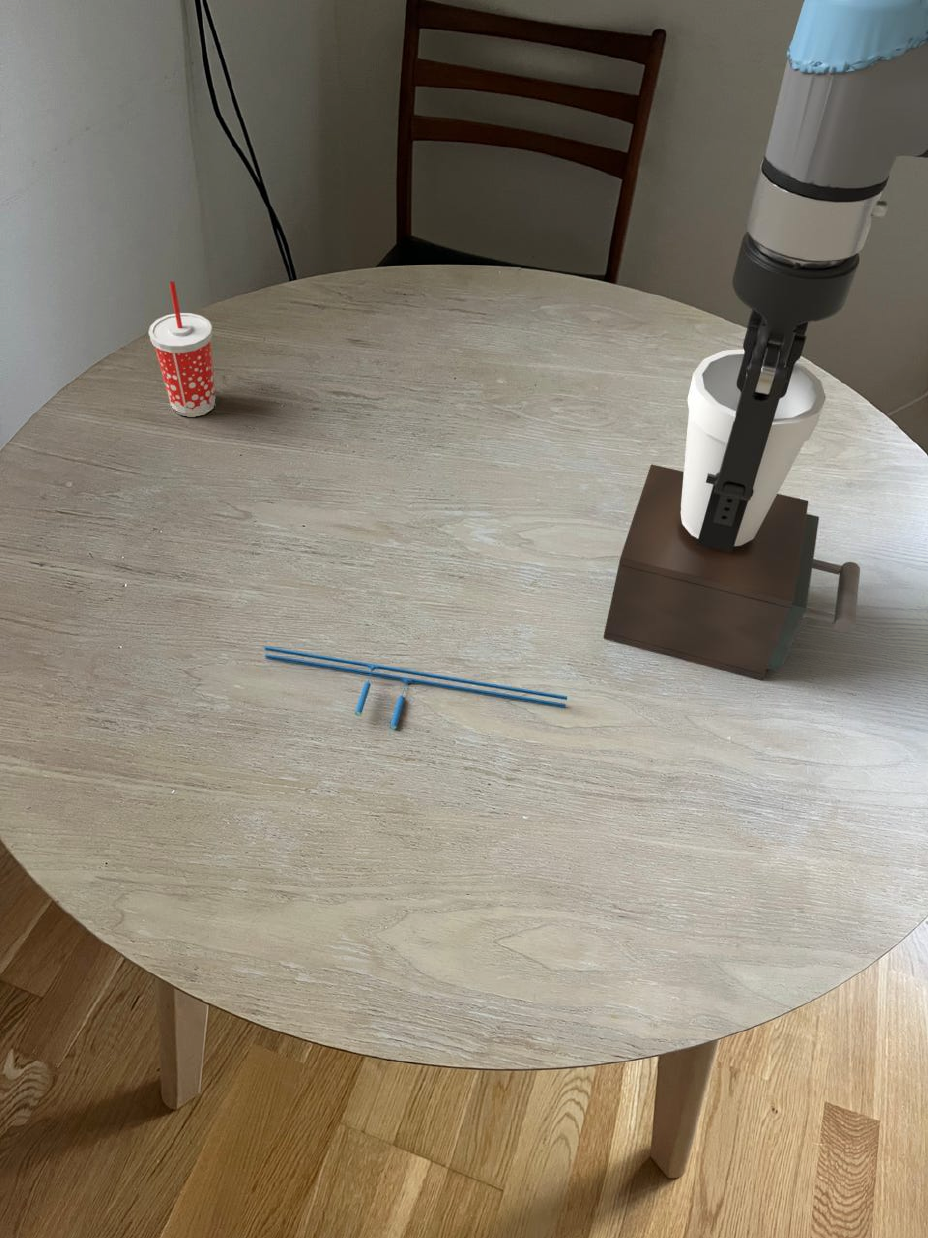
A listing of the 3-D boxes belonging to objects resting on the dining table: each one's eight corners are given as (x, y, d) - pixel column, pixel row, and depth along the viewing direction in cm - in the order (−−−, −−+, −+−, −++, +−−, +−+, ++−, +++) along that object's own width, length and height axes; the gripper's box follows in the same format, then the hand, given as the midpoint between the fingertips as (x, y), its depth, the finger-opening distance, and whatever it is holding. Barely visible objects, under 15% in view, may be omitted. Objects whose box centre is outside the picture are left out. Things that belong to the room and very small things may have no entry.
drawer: (843, 593, 93) (872, 528, 87) (833, 686, 85) (864, 622, 80) (657, 547, 96) (673, 482, 90) (632, 633, 88) (648, 567, 83)
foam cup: (640, 497, 86) (670, 361, 77) (735, 473, 89) (775, 339, 79) (701, 572, 80) (741, 436, 71) (800, 544, 83) (851, 409, 73)
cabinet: (778, 580, 95) (808, 500, 88) (761, 680, 87) (793, 600, 80) (633, 544, 97) (651, 463, 90) (603, 638, 89) (620, 557, 82)
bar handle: (560, 745, 79) (567, 695, 83) (244, 692, 81) (264, 645, 85) (558, 757, 80) (565, 707, 84) (246, 704, 82) (266, 657, 86)
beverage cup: (230, 391, 111) (213, 269, 101) (213, 425, 107) (193, 302, 97) (174, 384, 112) (151, 263, 101) (155, 418, 107) (129, 294, 97)
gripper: (850, 340, 59) (753, 611, 75) (871, 181, 73) (786, 438, 90) (719, 313, 60) (651, 585, 77) (765, 162, 75) (700, 419, 91)
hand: (724, 506), depth 83 cm, fingers closed on foam cup, 9 cm apart
